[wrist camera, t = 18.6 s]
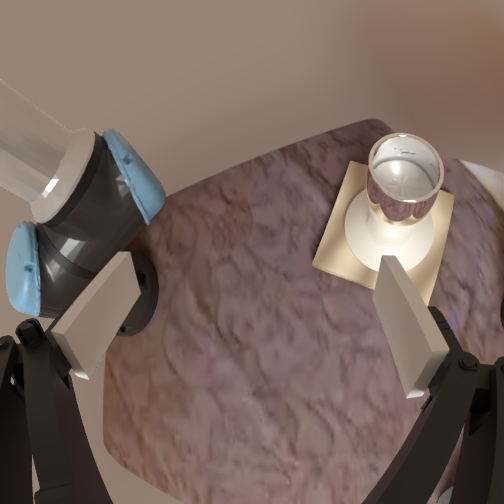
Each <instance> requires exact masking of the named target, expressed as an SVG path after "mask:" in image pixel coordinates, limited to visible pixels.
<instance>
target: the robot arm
mask: <svg viewBox="0 0 504 504" xmlns="http://www.w3.org/2000/svg"><path fill="white" fill-rule="evenodd" d="M0 186H1V187H3V188H5V189H7V190H8V191H10V192H12V193H14V194H16V195H17V196H19V197H21V198H23V199H25V200H27V201H28V202H29V203H30V206H31V210H32V214H33V217H34V219H35V221H37V224H33V223H32V222H31V221H29V222H26V221H24V222H22V223H20V224H19V225H18V226H17V227H16V229H15V231H14V233H13V235H12V238H11V241H10V245H9V249H8V253H7V260H6V288H7V294H8V298H9V300H10V302H11V304H12V306H13V307H14V308H15V309H16V310H18V311H20V312H22V313H26V314H30V315H33V316H34V317H45V318H52V319H55V320H54V321H53V322H52V324H51V325H50V326H49V328H48V329H47V330H46V331H45V332H44V331H43V329H42V327H41V325H40V323H39V321H38V320H37V319H34V318H32V319H27V320H25V321H23V322H22V323H21V324H19V326H18V327H17V328H16V331H15V333H16V335H17V337H18V338H19V340H20V342H21V343H20V344H16V342H15V341H14V339H13V337H12V336H10V335H7V336H3V337H1V338H0V504H33V491H32V455H33V459H34V464H35V469H36V473H37V477H38V481H39V485H40V489H39V491H37V492H35V495H34V499H35V504H113V502H112V500H111V499H110V496H109V494H108V491H107V489H106V487H105V485H104V482H103V480H102V477H101V475H100V472H99V470H98V467H97V465H96V462H95V459H94V457H93V454H92V451H91V448H90V445H89V442H88V439H87V436H86V433H85V430H84V426H83V423H82V419H81V416H80V412H79V409H78V404H77V401H76V396H75V392H74V388H73V383H72V379H71V376H70V374H69V371H70V369H71V368H72V369H73V370H74V372H75V374H76V375H77V376H78V377H82V378H85V379H89V380H90V378H91V377H92V375H93V373H94V371H95V369H96V368H97V366H98V364H99V362H100V360H101V359H102V357H103V355H104V353H105V352H106V350H107V348H108V347H109V345H110V343H111V341H112V340H113V338H114V336H115V335H116V336H131V335H134V334H137V333H138V332H140V331H141V330H142V329H143V328H144V327H145V326H146V325H147V324H148V323H149V321H150V319H151V318H152V316H153V313H154V311H155V308H156V304H157V299H158V281H157V276H156V273H155V270H154V268H153V266H152V264H151V263H150V261H149V260H148V259H147V258H146V257H145V256H143V255H142V254H140V253H137V252H135V251H132V250H128V249H126V248H127V246H128V245H129V244H130V243H131V242H132V241H133V240H134V239H135V238H136V237H137V235H138V234H139V233H140V232H141V231H142V230H143V229H144V228H145V227H146V226H147V225H149V224H150V220H151V219H152V218H153V217H154V216H155V215H156V213H157V212H158V211H159V210H160V209H161V208H162V206H163V205H164V203H165V198H166V194H165V191H164V189H163V187H162V185H161V183H160V182H159V181H158V179H157V178H156V177H155V175H154V174H153V173H152V171H151V170H150V169H149V167H148V166H147V165H146V163H145V162H144V161H143V160H142V158H141V157H140V156H139V155H138V154H137V153H136V151H135V150H134V149H133V148H132V146H131V145H130V144H129V143H128V142H127V141H126V140H125V139H124V137H123V136H122V135H121V134H120V133H118V132H117V131H116V130H115V129H114V128H110V129H108V130H107V131H104V132H103V135H102V136H99V135H98V134H97V133H96V132H94V131H93V130H92V129H90V128H88V127H87V128H86V127H85V128H81V129H77V130H73V131H70V130H68V129H66V128H65V127H64V126H62V125H61V124H60V123H58V122H57V121H56V120H54V119H53V118H52V117H50V116H49V115H48V114H46V113H45V112H44V111H42V110H41V109H40V108H38V107H37V106H36V105H34V104H33V103H32V102H31V101H29V100H28V99H27V98H25V97H24V96H22V95H21V94H20V93H19V92H17V91H16V90H15V89H13V88H12V87H11V86H9V85H8V84H7V83H5V82H4V81H3V80H2V79H0ZM372 300H373V303H374V305H375V308H376V310H377V313H378V316H379V318H380V321H381V324H382V326H383V329H384V332H385V335H386V337H387V340H388V343H389V346H390V349H391V352H392V355H393V358H394V361H395V364H396V367H397V370H398V373H399V376H400V379H401V383H402V386H403V389H404V393H405V396H406V398H412V397H418V396H422V395H423V394H424V392H425V391H426V389H427V387H428V388H429V391H430V396H429V397H428V399H427V400H426V402H425V403H424V405H423V406H422V407H421V409H422V411H421V413H420V415H419V417H418V419H417V421H416V422H415V424H414V426H413V428H412V430H411V431H410V433H409V435H408V437H407V438H406V440H405V442H404V443H403V445H402V447H401V448H400V450H399V452H398V453H397V455H396V456H395V458H394V460H393V461H392V463H391V464H390V466H389V467H388V469H387V470H386V472H385V473H384V474H383V476H382V477H381V479H380V480H379V482H378V483H377V484H376V486H375V487H374V488H373V490H372V491H371V492H370V494H369V495H368V496H367V497H366V499H365V500H364V501H363V503H362V504H427V502H428V500H429V498H430V497H431V495H432V493H433V491H434V489H435V488H436V486H437V484H438V482H439V480H440V478H441V476H442V474H443V472H444V470H445V468H446V466H447V464H448V462H449V459H450V457H451V455H452V453H453V450H454V448H455V446H456V443H457V441H458V438H459V436H460V433H461V431H462V428H463V425H464V433H463V440H462V447H461V453H460V458H459V464H458V469H457V473H456V478H455V482H454V486H453V490H452V494H451V498H450V502H449V504H504V357H500V358H498V359H497V361H496V362H495V364H494V365H487V364H480V363H479V360H478V359H477V358H476V357H475V356H474V355H472V354H471V353H468V352H463V350H462V348H461V346H460V344H459V342H458V340H457V338H456V337H455V335H454V333H453V331H452V329H450V326H449V324H448V323H447V321H446V319H445V317H444V316H443V314H442V313H441V312H440V311H439V310H438V309H437V308H436V307H434V306H430V307H427V306H426V304H425V303H424V301H423V299H422V298H421V296H420V294H419V292H418V291H417V289H416V287H415V286H414V284H413V283H412V281H411V279H410V278H409V276H408V274H407V273H406V271H405V270H404V268H403V267H402V265H401V263H400V262H399V260H398V259H397V257H396V256H395V255H382V257H381V262H380V267H379V272H378V276H377V281H376V285H375V290H374V294H373V298H372ZM11 377H12V378H13V379H14V384H13V385H12V383H11ZM464 423H465V424H464Z"/></svg>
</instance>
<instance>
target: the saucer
mask: <svg viewBox="0 0 504 504" xmlns="http://www.w3.org/2000/svg"><path fill="white" fill-rule="evenodd" d="M370 213H371V212H370V209H369V206H368V202H367V198H366V189H365V190H363V191H362V192H361V193H359V194H358V195H357V196H356V197H355V198H354V200H353V201H352V202H351V204H350V206H349V208H348V210H347V213H346V217H345V235H346V240H347V243H348V245H349V248H350V250H351V251H352V253H353V254H354V256H355V257H356V258H357V259H358V260H359V261H360V262H361V263H362V264H363V265H364V266H366V267H368V268H369V269H371V270H373V271H376V272H379V267H380V262H381V257H382V255H395V256H396V257H397V259H398V260H399V262H400V263H401V265H402V267H403V268H404V270H405V271H408V270H410V269H412V268H414V267H415V266H417V265H418V264H419V263H420V262H421V261H422V260H423V259H424V258H425V256H426V255H427V253H428V251H429V249H430V247H431V244H432V241H433V235H434V227H433V221H432V217H431V214H430V212H429V214H428V215H427V217H426V218H425V219H424V220H423V221H422V222H421V223H420V224H418V225H417V226H416V227H414V228H413V232H412V235H411V238H410V239H409V241H408V242H407V243H406V244H405V245H403V246H402V247H400V248H397V249H386V248H383V247H380V246H379V245H377V244H376V243H375V242H374V241H373V240H372V239H371V237H370V235H369V233H368V229H367V221H368V217H369V215H370Z"/></svg>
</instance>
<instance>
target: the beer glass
mask: <svg viewBox="0 0 504 504" xmlns="http://www.w3.org/2000/svg"><path fill="white" fill-rule="evenodd" d="M443 179H444V168H443V163H442V161H441V158H440V156H439V155H438V153H437V152H436V150H435V149H434V148H433V147H432V146H431V145H430V144H429V143H427V142H426V141H424V140H423V139H421V138H419V137H417V136H415V135H412V134H407V133H394V134H390V135H387V136H385V137H383V138H381V139H380V140H378V141H377V142H376V143H375V145H374V146H373V147H372V149H371V152H370V155H369V163H368V168H367V174H366V198H367V202H368V206H369V209H370V212H371V213H370V215H369V217H368V221H367V229H368V233H369V235H370V237H371V239H372V240H373V241H374V242H375V243H376V244H377V245H379V246H380V247H383V248H386V249H397V248H400V247H402V246H403V245H405V244H406V243H407V242H408V241H409V239H410V238H411V235H412V232H413V228H414V227H416V226H417V225H418V224H420V223H421V222H422V221H423V220H424V219H425V218H426V217H427V215H428V214H429V212H430V211H431V209H432V207H433V205H434V203H435V201H436V199H437V196H438V193H439V190H440V187H441V185H442V183H443Z"/></svg>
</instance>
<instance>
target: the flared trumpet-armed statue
mask: <svg viewBox="0 0 504 504" xmlns="http://www.w3.org/2000/svg"><path fill="white" fill-rule="evenodd" d="M501 321H502V325H503V328H504V300H503V303H502V307H501Z"/></svg>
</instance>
